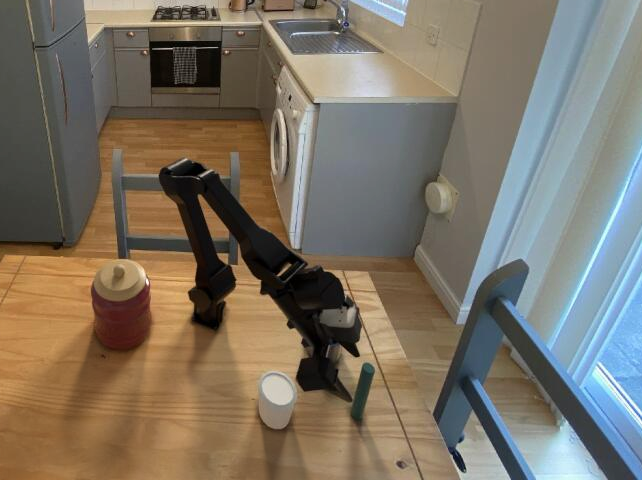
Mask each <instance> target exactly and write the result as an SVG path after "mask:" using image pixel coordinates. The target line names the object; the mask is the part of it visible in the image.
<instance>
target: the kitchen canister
mask: <svg viewBox="0 0 642 480" xmlns="http://www.w3.org/2000/svg"><path fill="white" fill-rule="evenodd" d="M90 296H91V306H92V307H91V308H92V310H93V325H94V326H93V327H94V331H95V334H96V336H97V338H98V339H99V341H100V342H101V343H102V344H103V345H104V346H105V347H107V348H109V349H111V350H117V351H125V350H129V349H133V348H134V347H137V346H138V345H139V344H141V343H142V342H143V341H144V340H145V339H146V338H147V336H148V334H149V332H150V329H151V325H152V311H151V299H152V296H151V281H150V278H149V276H148V275H147V273H146V271H145V269H144V268H143V267H142V265H140V264H139V263H138V262H136V261H134V260H131V259H126V258H119V259H113V260H110V261H108V262H106V263H105V264H103V265H102V266H101V267H100V268H99V269H98V270H97V271H96V272H95V275H94V278H93V281H92V283H91V286H90Z"/></svg>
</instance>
